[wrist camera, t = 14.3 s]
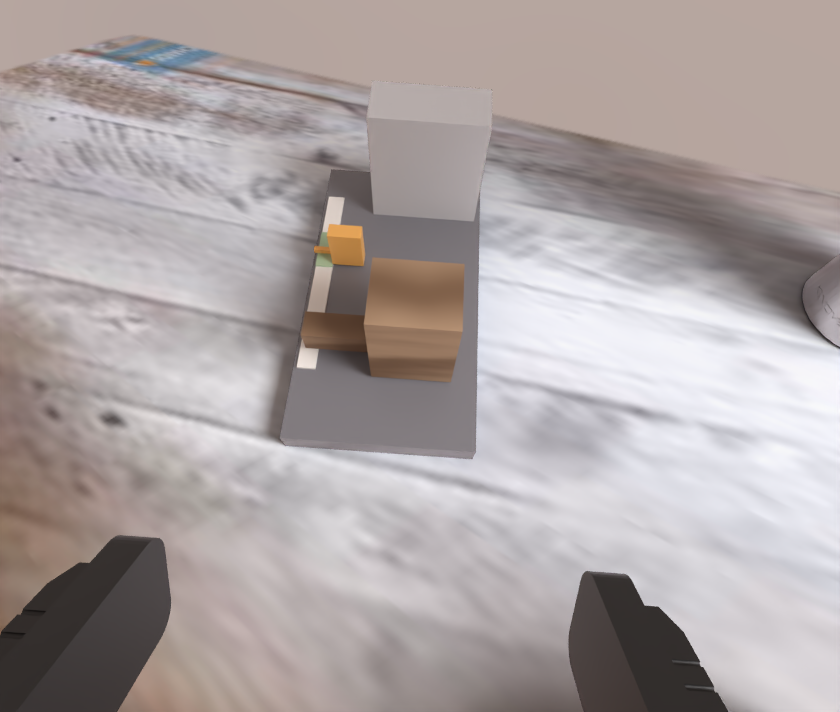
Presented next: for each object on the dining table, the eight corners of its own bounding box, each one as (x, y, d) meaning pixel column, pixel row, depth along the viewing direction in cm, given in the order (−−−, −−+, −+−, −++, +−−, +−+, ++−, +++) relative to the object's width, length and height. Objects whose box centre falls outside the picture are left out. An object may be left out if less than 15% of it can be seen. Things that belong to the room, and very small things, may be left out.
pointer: (363, 266, 41) (360, 238, 38) (313, 262, 41) (306, 234, 38) (365, 254, 42) (362, 226, 39) (315, 251, 42) (308, 222, 39)
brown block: (450, 382, 37) (462, 331, 30) (304, 371, 37) (281, 318, 30) (453, 324, 39) (464, 264, 32) (315, 314, 39) (295, 251, 32)
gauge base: (472, 459, 37) (501, 403, 26) (285, 445, 37) (237, 384, 26) (477, 195, 48) (498, 81, 37) (334, 185, 48) (314, 67, 37)
